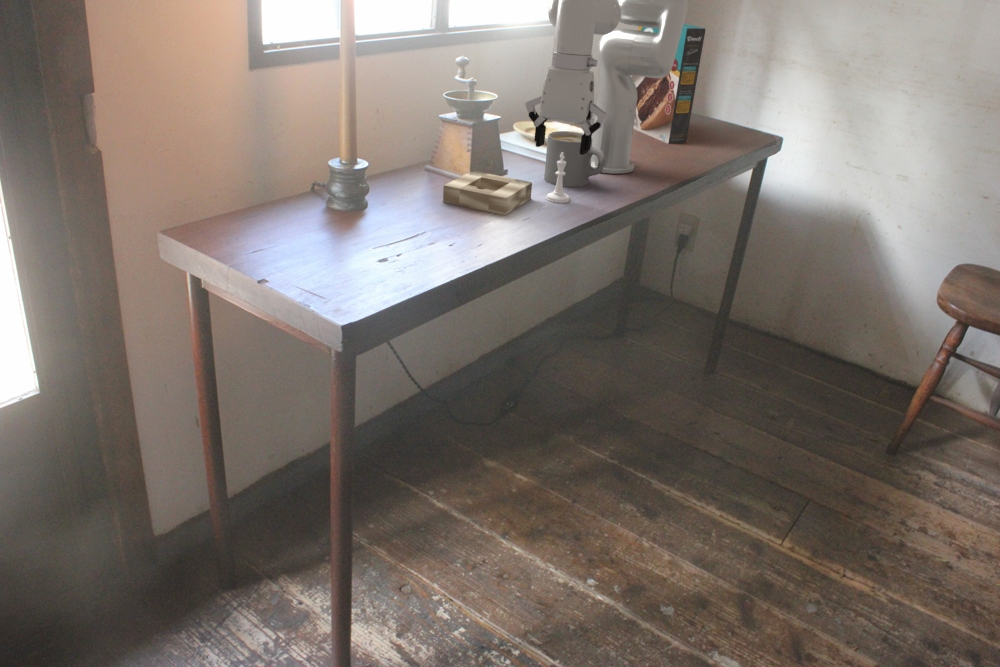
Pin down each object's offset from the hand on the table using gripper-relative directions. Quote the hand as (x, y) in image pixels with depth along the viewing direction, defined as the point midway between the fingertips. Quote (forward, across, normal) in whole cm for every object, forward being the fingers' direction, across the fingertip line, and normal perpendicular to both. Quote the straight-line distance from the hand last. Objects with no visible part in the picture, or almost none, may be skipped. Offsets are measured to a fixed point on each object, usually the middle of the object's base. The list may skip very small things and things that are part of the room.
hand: (561, 149), depth 162 cm
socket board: (+11, +12, +8) cm, 18 cm away
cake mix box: (+9, -1, -75) cm, 76 cm away
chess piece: (+11, 0, -1) cm, 11 cm away
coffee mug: (+10, +2, -15) cm, 19 cm away
